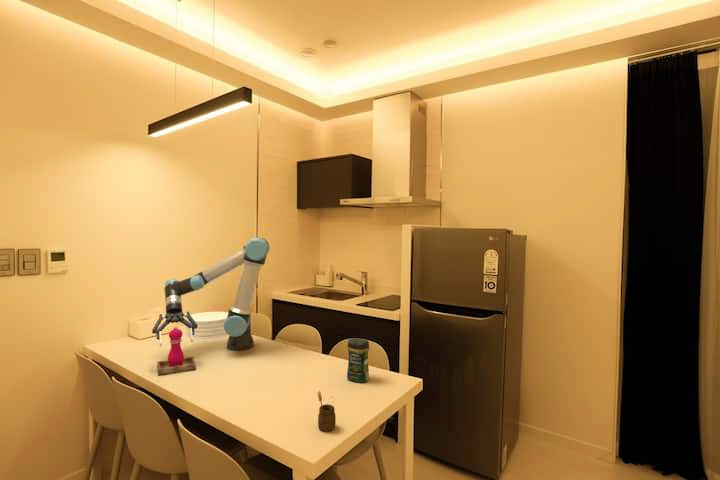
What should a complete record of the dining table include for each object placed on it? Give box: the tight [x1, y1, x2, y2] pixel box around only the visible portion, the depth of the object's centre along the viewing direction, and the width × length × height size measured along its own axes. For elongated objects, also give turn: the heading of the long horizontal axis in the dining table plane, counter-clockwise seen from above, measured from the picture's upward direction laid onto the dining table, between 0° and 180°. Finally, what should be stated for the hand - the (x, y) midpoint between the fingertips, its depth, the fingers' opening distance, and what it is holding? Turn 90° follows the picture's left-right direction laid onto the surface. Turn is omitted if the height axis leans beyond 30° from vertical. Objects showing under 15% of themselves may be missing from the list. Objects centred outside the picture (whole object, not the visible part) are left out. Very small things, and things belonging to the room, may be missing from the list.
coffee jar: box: [346, 337, 370, 383], centre depth 175 cm, size 10×8×19 cm
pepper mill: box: [167, 325, 185, 367], centre depth 187 cm, size 7×7×20 cm
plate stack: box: [185, 311, 229, 340], centre depth 252 cm, size 28×28×12 cm
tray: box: [157, 356, 197, 377], centre depth 187 cm, size 16×12×3 cm
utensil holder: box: [317, 390, 337, 432], centre depth 132 cm, size 6×6×12 cm
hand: (176, 342), depth 186 cm, fingers open, 13 cm apart
